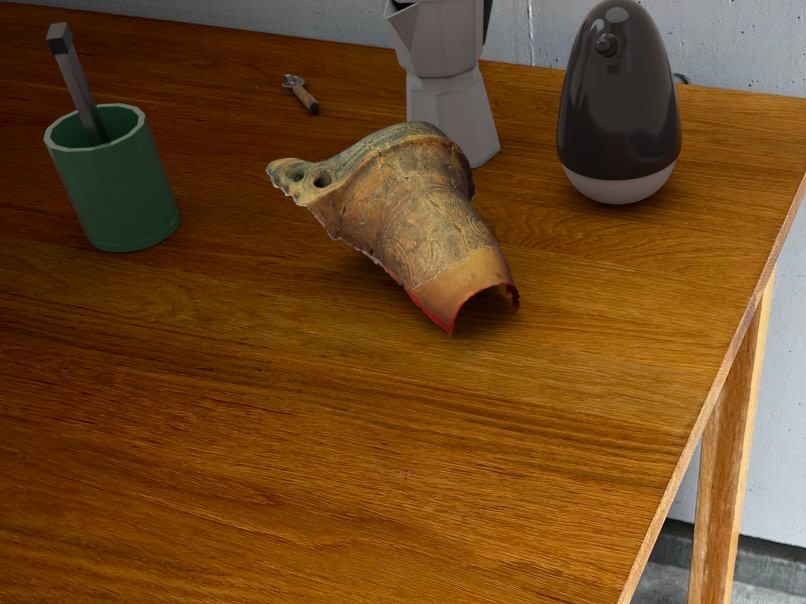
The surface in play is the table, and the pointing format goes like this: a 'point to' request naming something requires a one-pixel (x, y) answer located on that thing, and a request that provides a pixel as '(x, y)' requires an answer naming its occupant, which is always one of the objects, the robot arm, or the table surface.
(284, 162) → the tan clay pottery piece
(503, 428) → the table surface
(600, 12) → the pump dispenser
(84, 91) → the grey capped rod
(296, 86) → the can opener
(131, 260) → the table surface
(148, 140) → the cup
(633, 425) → the table surface
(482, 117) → the coffee maker
